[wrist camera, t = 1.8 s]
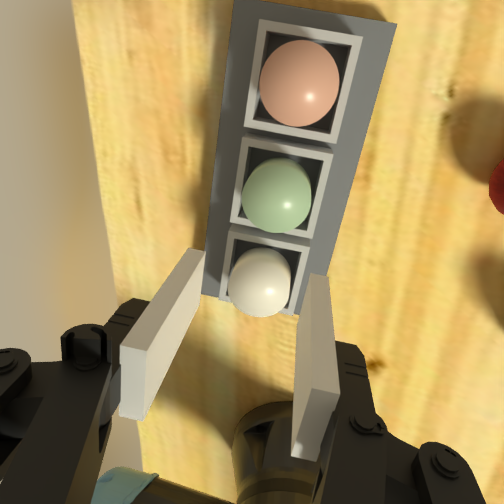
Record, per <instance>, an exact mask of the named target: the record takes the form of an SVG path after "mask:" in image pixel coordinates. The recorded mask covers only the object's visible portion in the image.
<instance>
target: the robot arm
mask: <svg viewBox="0 0 504 504" xmlns="http://www.w3.org/2000/svg"><path fill="white" fill-rule="evenodd" d="M205 254H206V251H202V250H197V249H192V248H188V249H187V251H186V252H185V254H184V255H183V256H182V258H181V259H180V261H179V262H178V263H177V265H176V266H175V268H174V269H173V271H172V272H171V273H170V275H169V276H168V278H167V279H166V281H165V282H164V283H163V285H162V286H161V288H160V289H159V290H158V292H157V293H156V295H155V296H154V298H153V299H152V300H151V302H149V301H145V300H140V299H136V298H132V299H131V300H129V301H127V302H125V303H123V304H121V306H120V307H119V308H118V309H117V311H116V312H115V313H114V315H112V317H111V318H110V319H109V320H108V322H107V323H106V324H105V325H104V326H102V325H97V324H82V325H79V326H75V327H73V328H71V329H69V330H67V331H66V332H65V333H64V334H63V335H62V336H61V351H62V361H57V362H31V357H30V355H29V354H28V353H27V352H26V351H24V350H21V349H16V348H6V349H0V481H1V480H2V479H3V480H2V482H1V484H0V504H234V503H231V502H229V501H226V500H223V499H220V498H217V497H215V496H212V495H209V494H206V493H203V492H200V491H197V490H194V489H191V488H188V487H185V486H183V485H180V484H177V483H174V482H171V481H168V480H165V479H162V478H159V474H157V473H153V474H149V473H145V472H141V471H138V470H135V469H131V468H127V467H115V468H113V469H111V470H109V471H107V472H106V473H104V474H103V475H102V476H101V477H100V478H99V479H98V475H99V471H100V467H101V464H102V460H103V457H104V453H105V449H106V446H107V442H108V438H109V435H110V431H111V425H112V415H113V413H114V412H115V410H116V408H117V406H118V405H119V416H121V417H126V418H130V419H134V420H139V421H144V419H145V417H146V415H147V413H148V410H149V408H150V406H151V404H152V402H153V400H154V398H155V396H156V394H157V392H158V390H159V388H160V385H161V383H162V381H163V379H164V377H165V375H166V373H167V371H168V369H169V367H170V365H171V363H172V360H173V358H174V356H175V354H176V352H177V350H178V348H179V346H180V344H181V342H182V340H183V338H184V336H185V333H186V331H187V329H188V327H189V325H190V323H191V321H192V319H193V317H194V315H195V313H196V311H197V308H198V306H199V304H200V295H201V287H202V279H203V271H204V262H205ZM232 460H233V467H234V474H235V481H236V488H237V495H238V498H237V504H486V502H485V500H484V498H483V495H482V493H481V491H480V488H479V486H478V484H477V481H476V479H475V477H474V474H473V472H472V470H471V468H470V467H469V465H468V463H467V462H466V461H465V460H464V459H463V458H462V457H461V456H460V455H459V454H458V453H457V452H456V451H454V450H453V449H451V448H450V447H448V446H446V445H443V444H441V443H438V442H427V443H424V444H422V445H421V447H420V449H418V448H416V447H414V446H412V445H410V444H408V443H406V442H404V441H402V440H400V439H398V438H396V437H395V436H393V435H392V434H391V433H389V432H388V431H387V426H386V425H385V423H384V421H383V420H382V418H381V417H380V416H379V415H377V414H376V412H375V408H374V403H373V398H372V393H371V388H370V383H369V379H368V373H367V369H366V363H365V358H364V355H363V354H362V352H361V351H360V349H359V348H358V347H357V345H353V344H349V343H344V342H339V341H335V337H334V327H333V317H332V307H331V297H330V287H329V277H327V276H323V275H318V274H313V273H310V277H309V281H308V285H307V289H306V292H305V296H304V300H303V304H302V308H301V312H300V315H299V319H298V323H297V334H296V356H295V377H294V399H293V402H276V403H270V404H266V405H263V406H260V407H258V408H256V409H254V410H252V411H250V412H249V413H248V414H246V415H245V416H244V417H243V418H242V419H241V421H240V422H239V424H238V425H237V428H236V430H235V435H234V440H233V445H232ZM3 477H4V478H3ZM97 479H98V480H97Z"/></svg>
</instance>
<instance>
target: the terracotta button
mask: <svg viewBox="0 0 504 504" xmlns="http://www.w3.org/2000/svg"><path fill="white" fill-rule="evenodd" d="M259 88H260V95H261V99H262V102H263V104H264V106H265V108H266V110H267V111H268V112H269V114H270V115H271V116H272V117H273V118H275V119H276V120H277V121H279V122H281V123H283V124H285V125H289V126H295V127H300V126H306V125H310V124H312V123H314V122H316V121H318V120H320V119H321V118H322V117H323V116H325V115H326V113H327V112H328V111H329V110H330V109H331V107H332V105H333V104H334V102H335V100H336V97H337V94H338V89H339V73H338V69H337V66H336V63H335V61H334V59H333V58H332V56H331V55H330V53H329V52H328V51H327V50H326V49H324V48H323V47H322V46H320V45H319V44H317V43H314V42H311V41H307V40H296V41H291V42H288V43H285V44H284V45H282V46H280V47H279V48H277V49H276V50H275V51H274V52H273V53H272V54H271V55H270V56H269V57H268V59H267V61H266V62H265V64H264V66H263V69H262V72H261V76H260V83H259Z"/></svg>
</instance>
